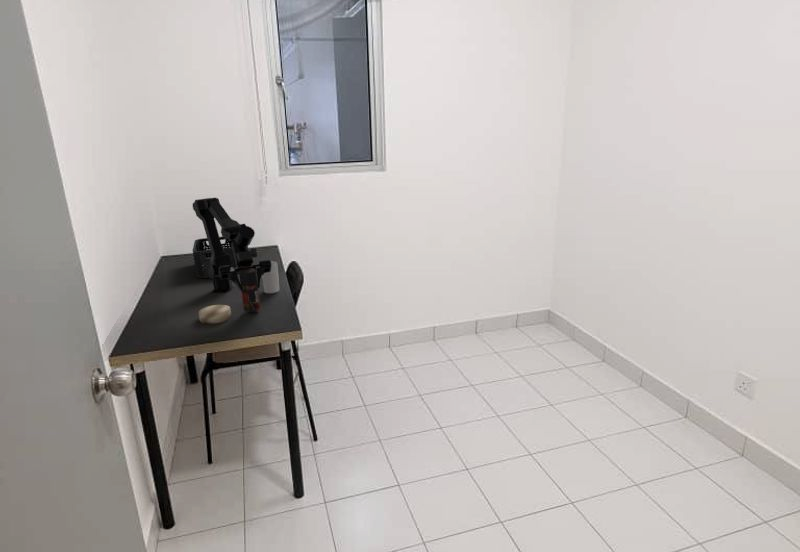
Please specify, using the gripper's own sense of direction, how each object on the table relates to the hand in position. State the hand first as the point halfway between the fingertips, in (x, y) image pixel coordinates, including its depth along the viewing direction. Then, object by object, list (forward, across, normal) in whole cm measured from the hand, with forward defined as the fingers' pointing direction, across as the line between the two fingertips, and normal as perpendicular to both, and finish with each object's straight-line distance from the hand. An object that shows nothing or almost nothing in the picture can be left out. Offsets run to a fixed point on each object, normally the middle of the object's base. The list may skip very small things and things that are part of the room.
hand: (250, 289), depth 181 cm
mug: (-9, +12, +23) cm, 28 cm away
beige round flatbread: (+5, -13, +8) cm, 16 cm away
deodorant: (+5, 0, +7) cm, 9 cm away
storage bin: (-40, -4, +56) cm, 69 cm away
